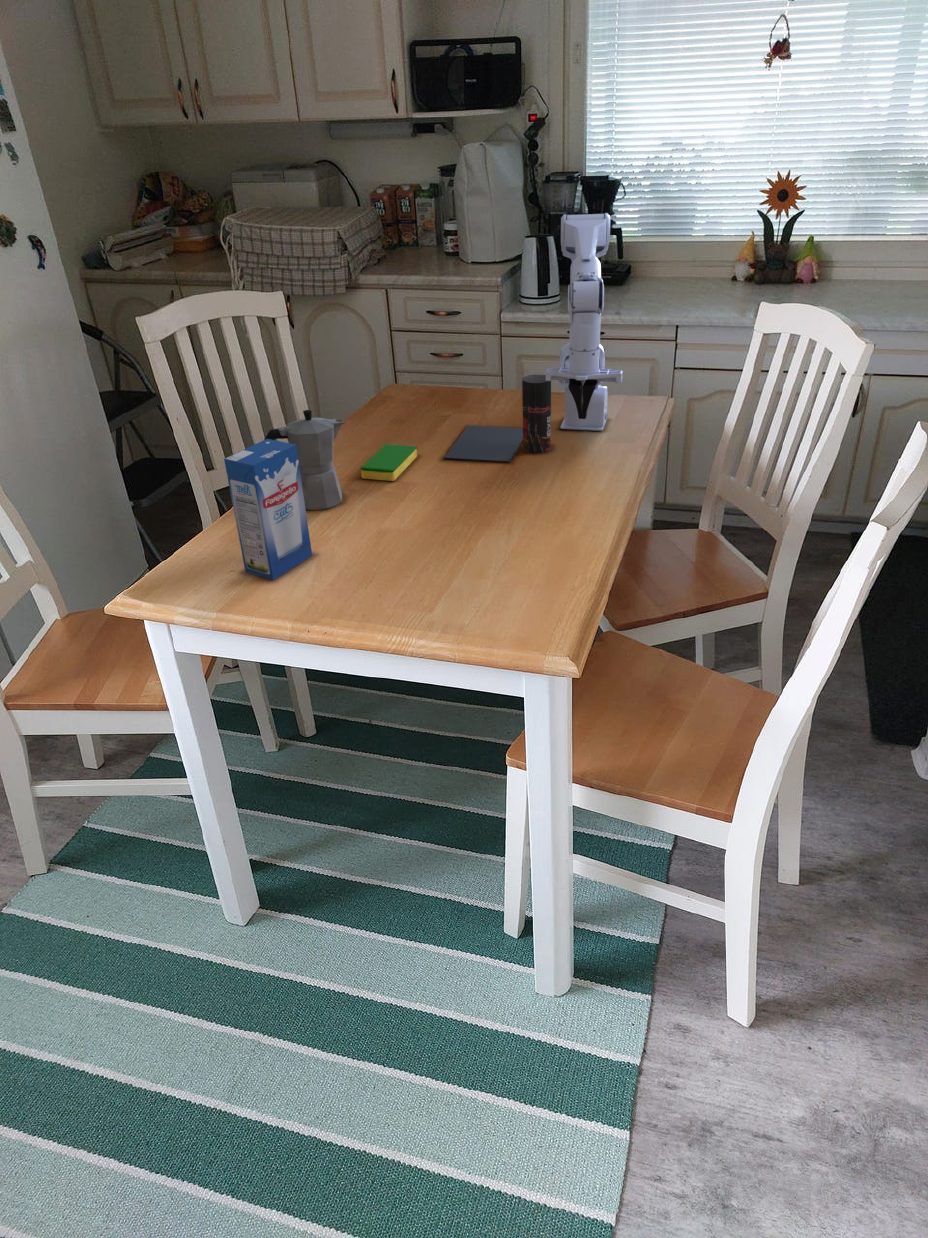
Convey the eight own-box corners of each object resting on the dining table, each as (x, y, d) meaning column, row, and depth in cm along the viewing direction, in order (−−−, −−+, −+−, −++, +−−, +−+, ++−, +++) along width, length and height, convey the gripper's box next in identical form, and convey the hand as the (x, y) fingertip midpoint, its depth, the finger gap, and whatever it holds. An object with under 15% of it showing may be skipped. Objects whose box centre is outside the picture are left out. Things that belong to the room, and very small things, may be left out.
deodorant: (548, 453, 192) (549, 383, 185) (520, 452, 194) (520, 382, 186) (552, 443, 197) (552, 374, 190) (524, 442, 198) (524, 374, 191)
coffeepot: (343, 485, 183) (333, 396, 173) (360, 501, 175) (350, 410, 166) (268, 502, 177) (253, 411, 168) (282, 519, 170) (267, 426, 160)
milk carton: (273, 580, 150) (253, 465, 139) (245, 572, 153) (223, 458, 142) (312, 555, 157) (296, 444, 146) (285, 547, 160) (267, 438, 149)
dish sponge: (361, 478, 185) (359, 467, 184) (386, 454, 196) (385, 443, 195) (393, 481, 183) (392, 470, 182) (417, 456, 194) (416, 445, 193)
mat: (528, 429, 205) (528, 428, 205) (509, 462, 189) (509, 461, 189) (467, 426, 209) (467, 425, 208) (444, 459, 192) (444, 457, 192)
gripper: (542, 352, 171) (542, 422, 178) (620, 354, 168) (617, 425, 175) (549, 342, 177) (548, 410, 184) (624, 344, 174) (621, 413, 181)
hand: (582, 417), depth 180 cm, fingers closed
